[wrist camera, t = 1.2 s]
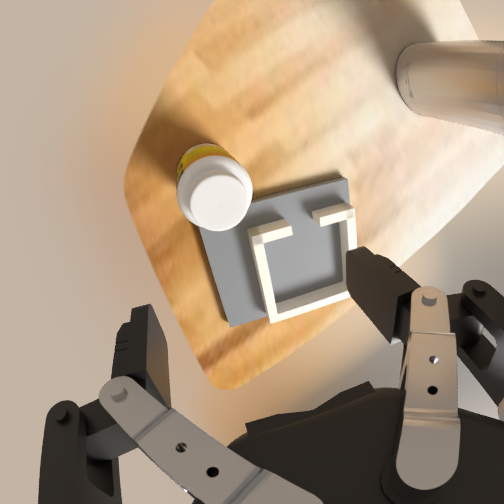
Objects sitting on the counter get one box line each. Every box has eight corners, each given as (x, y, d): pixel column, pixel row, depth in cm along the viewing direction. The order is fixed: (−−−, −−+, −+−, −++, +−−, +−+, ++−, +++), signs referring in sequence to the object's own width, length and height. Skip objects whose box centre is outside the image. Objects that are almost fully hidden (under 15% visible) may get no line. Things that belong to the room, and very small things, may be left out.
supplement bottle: (171, 148, 28) (169, 170, 19) (230, 138, 29) (257, 155, 20) (181, 204, 31) (185, 249, 22) (237, 194, 32) (264, 234, 23)
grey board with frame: (343, 176, 33) (357, 184, 31) (350, 283, 40) (361, 295, 37) (195, 215, 32) (197, 226, 29) (228, 322, 38) (233, 338, 36)
